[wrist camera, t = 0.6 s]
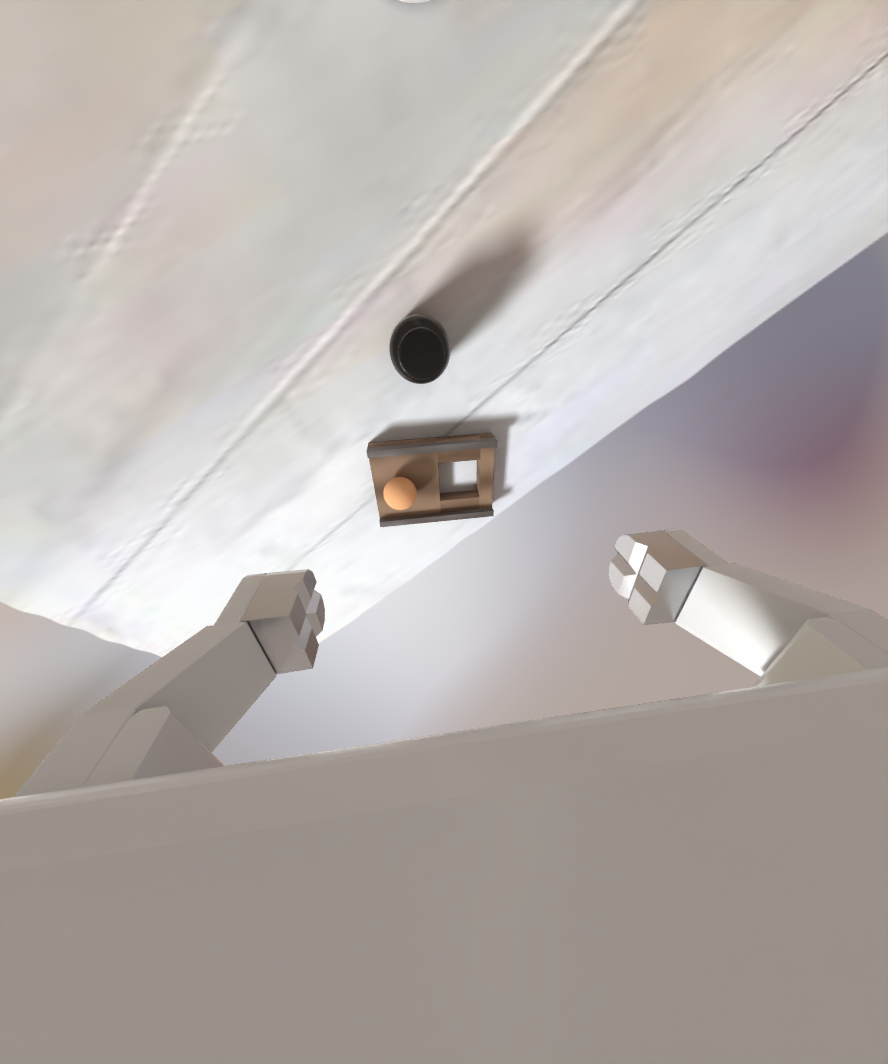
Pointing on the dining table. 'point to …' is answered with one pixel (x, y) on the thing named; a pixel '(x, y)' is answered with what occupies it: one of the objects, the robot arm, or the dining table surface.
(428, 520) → the lane
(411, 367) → the supplement bottle
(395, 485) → the ball
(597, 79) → the dining table surface
